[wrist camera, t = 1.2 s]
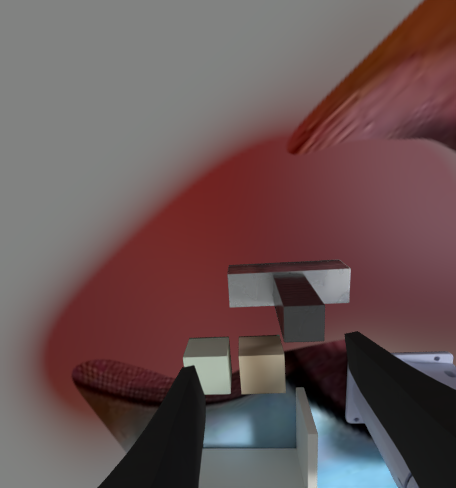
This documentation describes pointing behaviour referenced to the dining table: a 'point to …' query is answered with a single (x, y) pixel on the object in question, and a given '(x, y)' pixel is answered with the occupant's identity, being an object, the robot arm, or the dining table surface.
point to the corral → (267, 460)
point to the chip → (261, 364)
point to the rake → (292, 293)
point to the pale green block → (210, 363)
